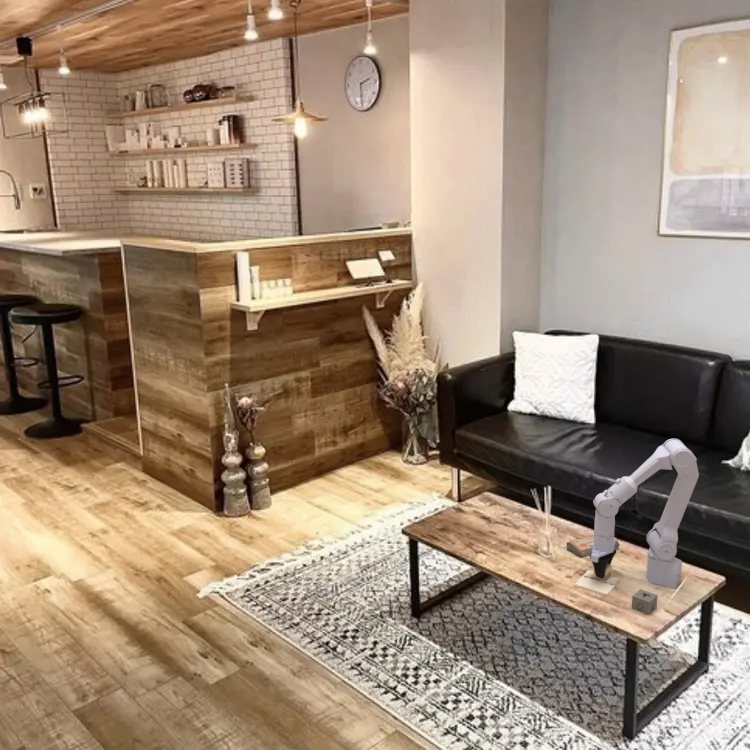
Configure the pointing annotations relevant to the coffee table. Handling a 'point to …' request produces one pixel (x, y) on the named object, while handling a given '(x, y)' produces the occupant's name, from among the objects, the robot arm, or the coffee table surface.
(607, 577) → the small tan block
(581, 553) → the packaged product
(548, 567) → the coffee table surface
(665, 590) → the coffee table surface
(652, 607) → the dice cube
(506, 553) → the coffee table surface
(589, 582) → the board
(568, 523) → the coffee table surface
